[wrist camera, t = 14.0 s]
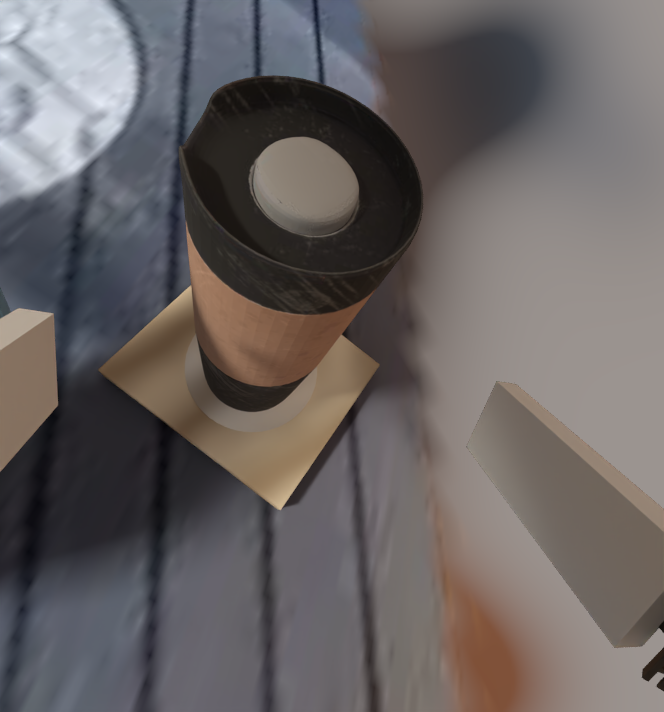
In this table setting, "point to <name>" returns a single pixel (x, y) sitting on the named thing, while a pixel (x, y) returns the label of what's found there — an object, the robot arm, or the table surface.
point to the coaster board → (230, 426)
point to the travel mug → (288, 228)
